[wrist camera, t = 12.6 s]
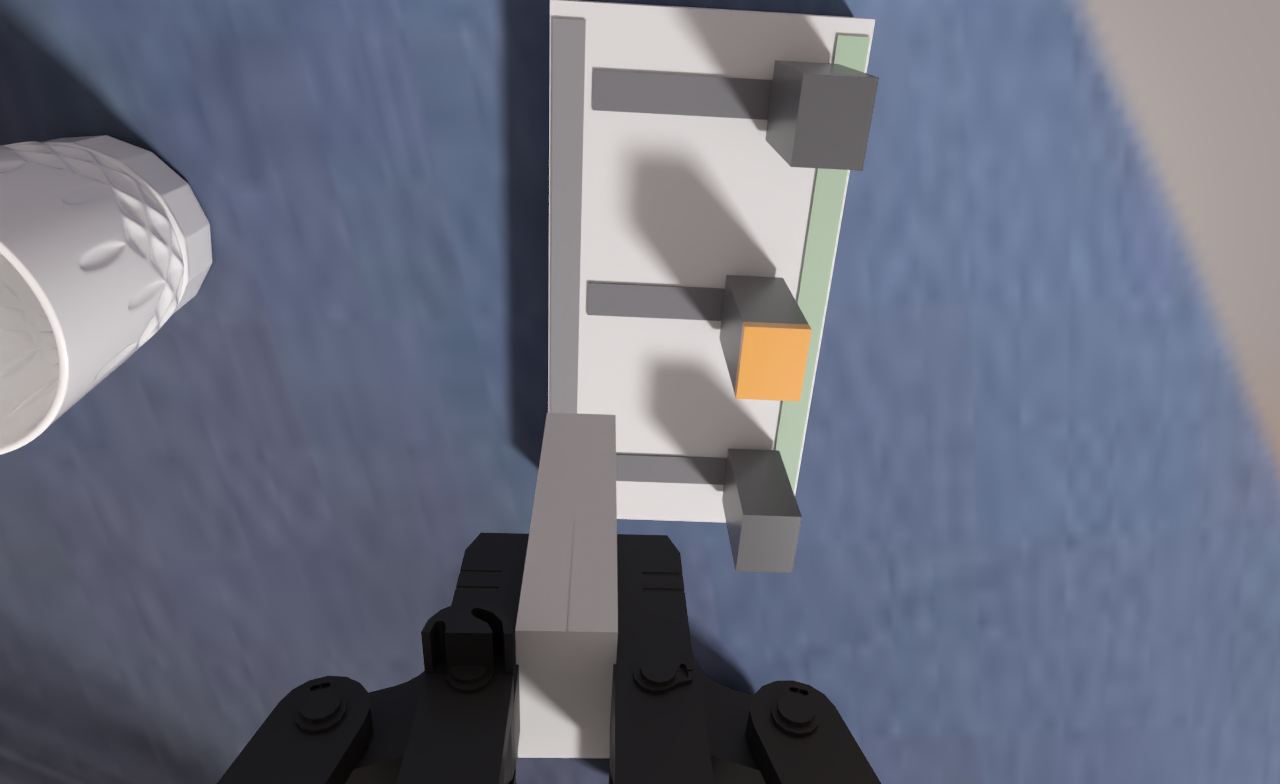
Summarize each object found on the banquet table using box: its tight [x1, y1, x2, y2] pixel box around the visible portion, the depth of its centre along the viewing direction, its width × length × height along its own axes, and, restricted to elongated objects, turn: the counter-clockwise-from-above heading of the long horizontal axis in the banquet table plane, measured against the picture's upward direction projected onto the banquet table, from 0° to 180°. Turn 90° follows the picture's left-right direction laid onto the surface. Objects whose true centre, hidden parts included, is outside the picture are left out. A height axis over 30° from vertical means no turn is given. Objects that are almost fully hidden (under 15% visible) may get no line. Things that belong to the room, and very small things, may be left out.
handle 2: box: [765, 60, 879, 171], centre depth 24 cm, size 2×2×4 cm
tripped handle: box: [719, 275, 812, 401], centre depth 26 cm, size 2×2×5 cm
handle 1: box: [722, 449, 802, 573], centre depth 30 cm, size 2×2×4 cm
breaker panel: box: [548, 0, 875, 522], centre depth 30 cm, size 19×10×3 cm, turn 177°
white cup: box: [0, 135, 212, 455], centre depth 25 cm, size 8×8×10 cm
